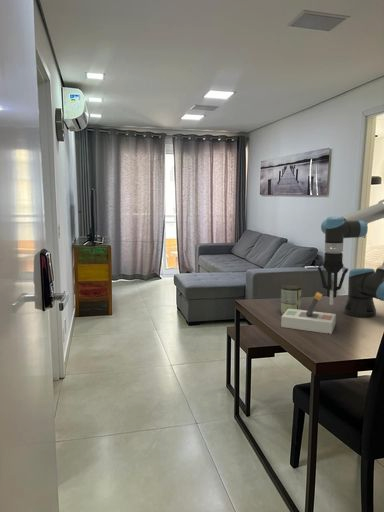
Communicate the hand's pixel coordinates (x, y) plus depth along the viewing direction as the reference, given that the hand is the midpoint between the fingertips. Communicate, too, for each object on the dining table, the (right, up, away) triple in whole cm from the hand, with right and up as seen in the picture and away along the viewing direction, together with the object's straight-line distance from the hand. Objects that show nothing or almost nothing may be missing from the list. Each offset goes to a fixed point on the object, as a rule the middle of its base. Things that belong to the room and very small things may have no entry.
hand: (331, 304), depth 172 cm
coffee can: (-11, -8, +27) cm, 30 cm away
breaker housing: (-8, -11, +6) cm, 15 cm away
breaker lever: (-8, -5, +5) cm, 11 cm away
